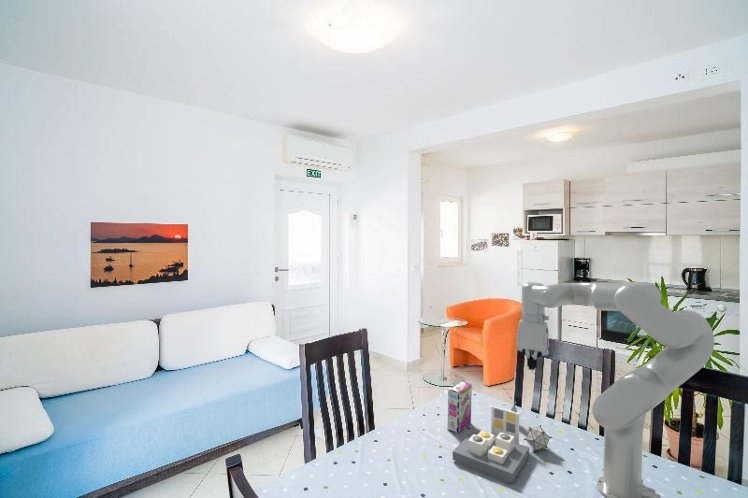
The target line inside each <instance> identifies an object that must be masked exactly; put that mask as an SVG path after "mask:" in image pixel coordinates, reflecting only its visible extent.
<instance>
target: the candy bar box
mask: <svg viewBox="0 0 748 498" xmlns="http://www.w3.org/2000/svg"><path fill="white" fill-rule="evenodd" d="M472 388H473V384H472V383H467V382H465V381H460V382H458V383H456V384H455V385H454V386H451V387H449V388H448V391H447V393H448V394H447V395H448V397H447V431H450V432H453V433H455V434H460V433H461V432H462V431H463V430H464V429H466V428H467V427H468V426H469V425H470V424H471V423H472Z"/></svg>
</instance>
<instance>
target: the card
mask: <svg viewBox="0 0 748 498" xmlns="http://www.w3.org/2000/svg"><path fill="white" fill-rule="evenodd" d="M490 426H491V431H490V432H491V433H490V434H493V435H494V436H495V437H497V436H498V435H499V433H500V432H502V433H505V434H508V435H511V436H514V443H517V444H520V413H519V412H513V411H511V410H510V409H506V408H501V407H498V406H494V405H492V406H491V425H490Z"/></svg>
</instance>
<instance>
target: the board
mask: <svg viewBox="0 0 748 498" xmlns="http://www.w3.org/2000/svg"><path fill="white" fill-rule="evenodd" d="M480 432H481V431H480V430H477V429H473V430H472V431H470V433H469V434H468V435H467V436H466V437H465V438H464V439H463V440H462V441H461V442H460V443H459V444H458V445H457V446H456V447H455V448H454V450H452V460H453V461H455V464H458V465H461V466H463V467H466V468H469V469H471V470H474V471H476V472H479V473H481V474H483V475H487V476H489V477H492V478H493V479H494V478H495V479H496V480H499V481H502V482H505V483H506V484H513V482H514V481H515V479H516V478H517V477H518V475H519V473H520V471H521V470H522V469H523V466H524V465H525V464H526V461H528V460H527V459H529V456H530V447H529V446H526V445H524V444H523V445H522V444H520V443H519V444H517V443H514V451H513V452H512V454H511V455H509V454H508V459H507V461H506V462H505V464H504V465H502V464H499V463H496V462H494V461H491V460H488V452H489V450H490V449H491V448H492V447H493V446H496V437H495V436H494V444H493V445H492V446H491V447H490V448H489V447H487V452H486V453H485V455H484V456H483V457H480V456H477V455H475V454H472V453H469V452H468V440H469V438H470V437H471V436H472V435H473V434H475V435H478V434H479V433H480Z"/></svg>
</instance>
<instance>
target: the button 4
mask: <svg viewBox="0 0 748 498" xmlns="http://www.w3.org/2000/svg"><path fill="white" fill-rule="evenodd" d="M507 459H508V451H507V450H504V449H502V448H499V447H496V446H493V447H492V448H491V449H490V450H489V452H488V460H491V461H494V462H496V463H499V464H502V465H504V464H505V462H506V461H507Z"/></svg>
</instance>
